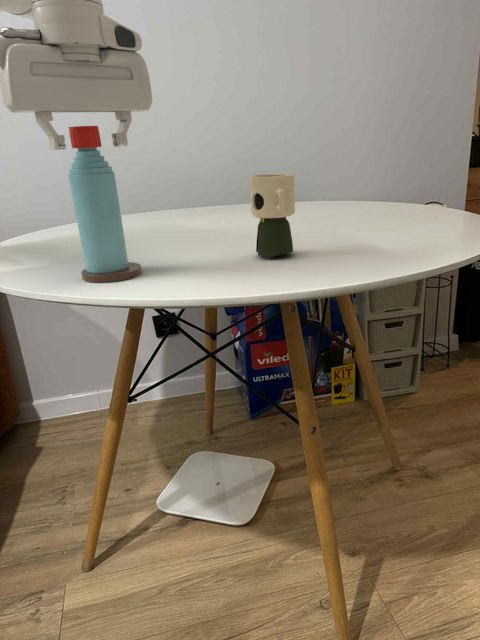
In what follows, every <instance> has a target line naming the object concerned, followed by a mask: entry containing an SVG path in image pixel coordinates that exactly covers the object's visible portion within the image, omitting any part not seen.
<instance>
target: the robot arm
mask: <svg viewBox="0 0 480 640" xmlns="http://www.w3.org/2000/svg"><path fill="white" fill-rule="evenodd" d="M0 11H1V12H5V13H9V14H11V15H14V16H18V17H21V18H22V17H23V18H25V19H29V20H32V21H33V26H34V29H27V28H24V29H23V28H21V29H19V28H13V27H8V26H7V27H1V28H0V91H1V92H0V93H1V98H2V103H3V105H4V106H5V107H6V109H8V111H10V112H11V113H17V114H18V113H19V114H21V113H22V114H23V113H29V114H30V113H34V116H35V121H36V124H37V125H38V126H39V127H40V129H41V130H42V132H43V133H44V134H45V135H46V136H47V138H48V143H49V148H50V149H51V151H61V150H66V149H67V144H66V143H65V142H66V139H65V135H64V134H58V133H57V131H56V130H55V128H54V127H53V125H52V124H51V122H53V121H54V117H53V113H114V115H115V120H116V121H118V126H117V129H116V133H111V139H112V145H113V147H116V148H117V147H128V145H129V142H128V135H127V133H128V131H129V130H130V126H131V123H132V121H133V118H132V113H141V112H147V111H150V109H151V107H152V104H153V94H152V93H153V92H152V86H151V80H150V74H149V69H148V66H147V63H146V61H145V59H144V57H143V56H142V55H141V54H140V53H138V51H140V50H141V49H142V47H143V43H142V37H141V35H140V34H139V33H138V32H137V31H135V30H133V29H131V28H130V27H127V26H125V25H123V24H122V23H119V22H118V21H116V20H114V19H113V18H111V17H109V16H108V15H106V14H105V12H104V11H105V10H104V5H103V1H102V0H0Z"/></svg>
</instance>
